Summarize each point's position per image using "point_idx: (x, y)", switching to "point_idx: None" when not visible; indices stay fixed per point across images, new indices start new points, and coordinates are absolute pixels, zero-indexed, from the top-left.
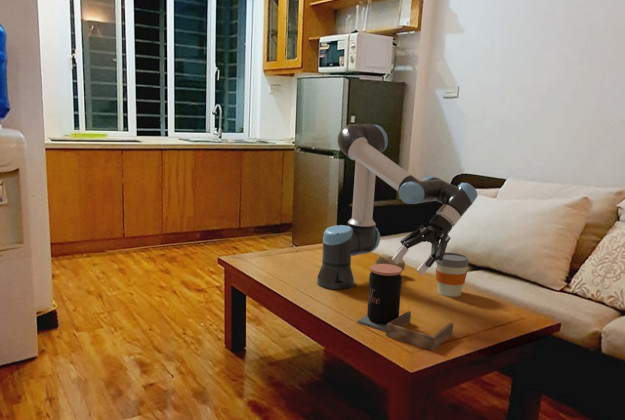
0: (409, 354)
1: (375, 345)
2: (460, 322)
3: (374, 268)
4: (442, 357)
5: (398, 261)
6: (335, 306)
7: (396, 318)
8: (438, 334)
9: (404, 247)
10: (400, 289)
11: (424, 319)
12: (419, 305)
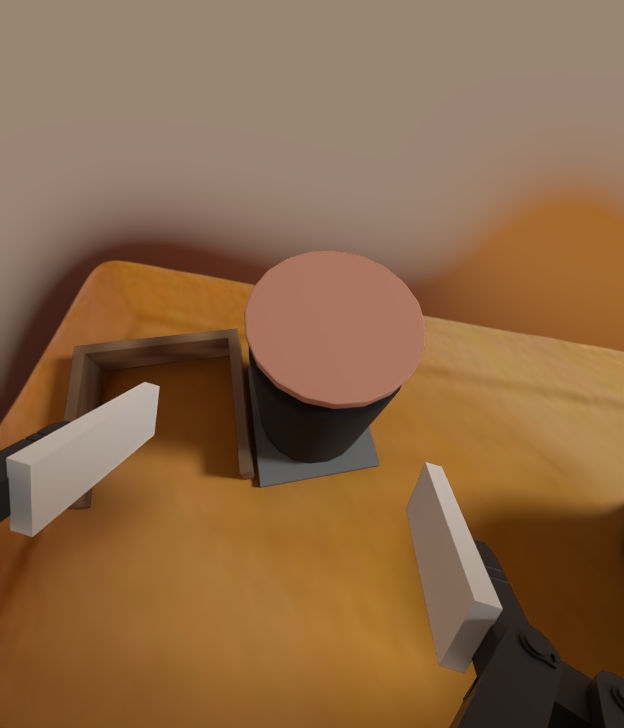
0: (139, 308)
1: (227, 292)
2: (87, 676)
3: (368, 273)
4: (58, 350)
5: (411, 520)
6: (478, 398)
7: (240, 381)
8: (71, 377)
9: (462, 599)
10: (259, 396)
11: (223, 557)
12: (328, 703)
